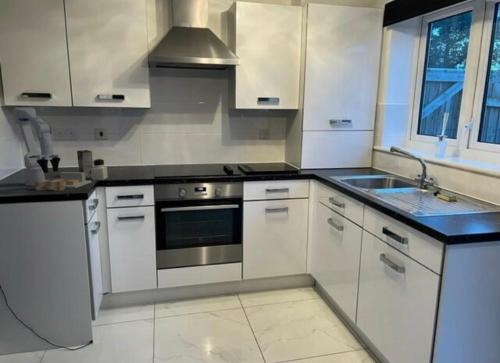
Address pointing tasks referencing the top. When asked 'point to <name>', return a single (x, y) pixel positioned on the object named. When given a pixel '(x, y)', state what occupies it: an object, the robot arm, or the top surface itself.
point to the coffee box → (85, 162)
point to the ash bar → (50, 185)
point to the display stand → (73, 179)
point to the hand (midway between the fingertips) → (51, 172)
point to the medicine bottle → (99, 170)
